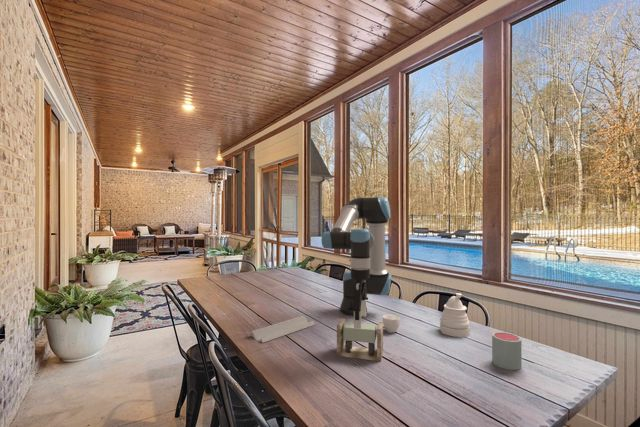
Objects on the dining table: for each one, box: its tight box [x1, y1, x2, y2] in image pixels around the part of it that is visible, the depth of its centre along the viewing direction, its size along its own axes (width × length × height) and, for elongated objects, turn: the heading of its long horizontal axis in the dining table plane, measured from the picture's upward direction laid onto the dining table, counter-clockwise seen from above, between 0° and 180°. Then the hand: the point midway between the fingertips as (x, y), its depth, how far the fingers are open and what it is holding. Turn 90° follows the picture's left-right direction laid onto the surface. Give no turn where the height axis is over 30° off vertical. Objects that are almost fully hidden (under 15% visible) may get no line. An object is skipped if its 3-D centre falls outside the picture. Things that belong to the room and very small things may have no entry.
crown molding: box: [247, 315, 316, 344], centre depth 149 cm, size 31×12×4 cm, turn 135°
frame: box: [336, 317, 384, 362], centre depth 123 cm, size 17×8×12 cm, turn 74°
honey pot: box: [439, 292, 471, 338], centre depth 147 cm, size 13×13×18 cm
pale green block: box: [344, 321, 377, 344], centre depth 123 cm, size 12×6×5 cm, turn 75°
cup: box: [382, 313, 401, 334], centre depth 149 cm, size 8×10×7 cm
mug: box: [491, 331, 523, 371], centre depth 117 cm, size 14×9×10 cm
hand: (360, 321), depth 124 cm, fingers open, 13 cm apart
